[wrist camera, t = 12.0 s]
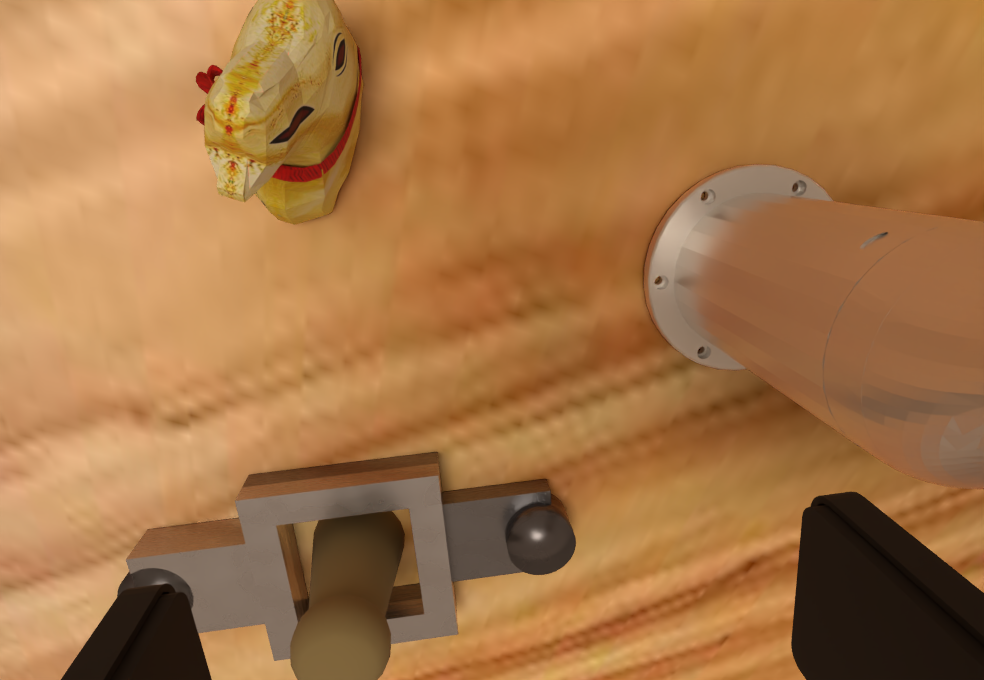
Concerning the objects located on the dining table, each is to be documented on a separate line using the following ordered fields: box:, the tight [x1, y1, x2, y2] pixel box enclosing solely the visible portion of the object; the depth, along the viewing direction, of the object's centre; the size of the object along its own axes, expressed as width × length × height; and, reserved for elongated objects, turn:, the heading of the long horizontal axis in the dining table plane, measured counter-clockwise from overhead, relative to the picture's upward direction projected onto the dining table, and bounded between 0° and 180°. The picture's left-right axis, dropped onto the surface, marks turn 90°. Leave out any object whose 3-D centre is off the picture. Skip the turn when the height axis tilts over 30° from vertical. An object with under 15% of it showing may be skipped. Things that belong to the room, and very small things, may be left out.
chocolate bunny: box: [196, 0, 364, 225], centre depth 26 cm, size 7×11×15 cm, turn 162°
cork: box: [290, 511, 405, 680], centre depth 36 cm, size 6×6×11 cm
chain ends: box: [117, 452, 576, 661], centre depth 40 cm, size 28×12×3 cm, turn 95°
